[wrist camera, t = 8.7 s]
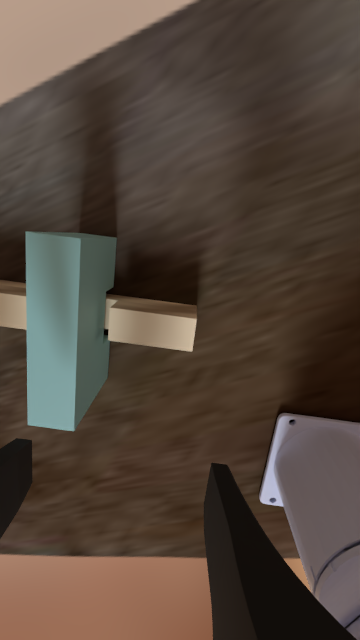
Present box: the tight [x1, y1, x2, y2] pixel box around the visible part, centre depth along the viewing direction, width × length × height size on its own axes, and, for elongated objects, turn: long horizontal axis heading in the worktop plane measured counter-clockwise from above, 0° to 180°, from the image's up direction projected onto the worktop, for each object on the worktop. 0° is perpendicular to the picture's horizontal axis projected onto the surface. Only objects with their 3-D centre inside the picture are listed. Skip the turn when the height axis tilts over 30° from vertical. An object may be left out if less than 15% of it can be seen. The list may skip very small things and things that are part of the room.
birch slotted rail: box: [0, 280, 197, 352], centre depth 20 cm, size 14×2×4 cm, turn 83°
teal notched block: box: [26, 232, 117, 431], centre depth 18 cm, size 2×10×6 cm, turn 173°
